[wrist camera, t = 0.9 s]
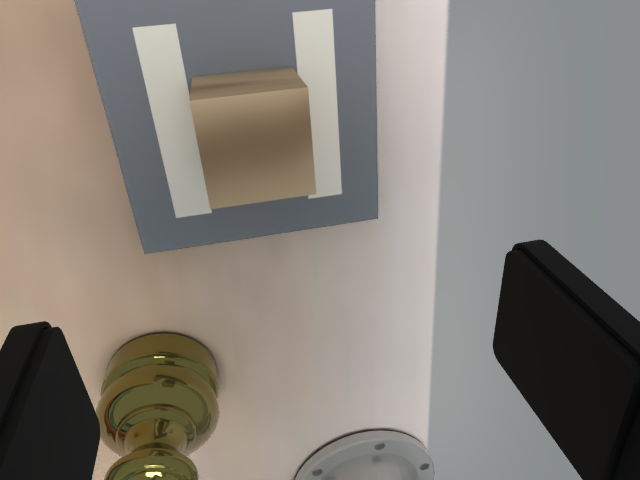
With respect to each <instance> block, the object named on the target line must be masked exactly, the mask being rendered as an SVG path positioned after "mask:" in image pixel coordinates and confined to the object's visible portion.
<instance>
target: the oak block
mask: <svg viewBox="0 0 640 480" xmlns="http://www.w3.org/2000/svg"><path fill="white" fill-rule="evenodd" d="M189 102H190V107H191V112H192V117H193V122H194V128H195V133H196V138H197V143H198V148H199V153H200V159H201V164H202V169H203V174H204V179H205V185H206V190H207V195H208V200H209V205H210V209H216V208H223V207H230V206H237V205H244V204H251V203H258V202H265V201H272V200H279V199H286V198H293V197H300V196H307V195H314V194H316V182H315V169H314V157H313V144H312V131H311V119H310V106H309V93H308V86H307V85H306V84H305V83H304V82H303V80H302V79H301V78H300V77H299V75H298V74H297V73H296V72H295V70H294V69H293V68H292V67H291V66H289V67H280V68H271V69H262V70H253V71H243V72H234V73H225V74H216V75H207V76H197V77H192V82H191V91H190V99H189Z"/></svg>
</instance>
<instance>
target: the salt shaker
mask: <svg viewBox="0 0 640 480" xmlns="http://www.w3.org/2000/svg"><path fill="white" fill-rule="evenodd" d="M217 397H218V383H217V369H216V364H215V361H214V359H213V357H212V355H211V354H210V353H209V351H208V350H207V349H206V348H205V347H203V346H202V345H201V344H199V343H198V342H196V341H194V340H192V339H190V338H188V337H185V336H181V335H176V334H165V333H162V334H152V335H147V336H143V337H140V338H137V339H135V340H133V341H131V342H129V343H127V344H126V345H124V346H123V347H122V348H121V349H120V350H118V351H117V352H116V354H115V355H114V356H113V357H112V359H111V361H110V363H109V365H108V369H107V373H106V377H105V380H104V382H103V385H102V388H101V399H100V401H99V403H98V406H97V409H96V415H97V417H98V420H99V424H100V438H101V440H102V441H103V443H104V444H105V445H106V446H107V447H108V448H109V449H110V450H112V451H113V452H115V453H116V454H118V455H120V456H122V458H120V459H119V460H118V461H116V462H115V463H114V464H113V465H112V466H111V467H110V469H109V470H108V472H107V474H106V476H105V478H104V480H199V476H198V471H197V468H196V466H195V465H194V463H193V462H192V461H191V460H190V459H189V458H188V457H186V456H187V455H189V454H191V453H192V452H194V451H196V450H197V449H198V448H200V447H201V446H202V445H203V444H204V443H205V442H206V441H207V440H208V439H209V438H210V437H211V435H212V434H213V432H214V430H215V428H216V426H217V422H218V418H219V406H218V402H217Z"/></svg>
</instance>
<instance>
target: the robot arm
mask: <svg viewBox="0 0 640 480" xmlns="http://www.w3.org/2000/svg"><path fill="white" fill-rule="evenodd" d="M493 350H494V354H495V356H496V358H497V360H498V362H499V363H500V364H501V366H502V367H503V369H504V370H505V371H506V373H507V374H508V376H509V377H510V379H511V380H512V381H513V383H514V384H515V385H516V387H517V388H518V390H519V391H520V392H521V394H522V395H523V397H524V398H525V400H526V401H527V402H528V404H529V405H530V407H531V408H532V409H533V411H534V412H535V413H536V415H537V416H538V418H539V419H540V420H541V422H542V423H543V425H544V426H545V427H546V429H547V430H548V432H549V433H550V434H551V436H552V437H553V439H554V440H555V441H556V443H557V444H558V446H559V447H560V449H561V450H562V451H563V453H564V454H565V455H566V457H567V458H568V460H569V461H570V463H571V464H572V465H573V467H574V468H575V469H576V471H577V472H578V474H579V475H580V477H581V478H582V479H583V480H640V322H639V321H638V320H637V319H636V318H634V317H633V316H632V315H631V314H630V313H629V312H627V311H626V310H625V309H624V308H623V307H622V306H620V305H619V304H618V303H617V302H616V301H615V300H614V299H612V298H611V297H610V296H609V295H608V294H607V293H605V292H604V291H603V290H602V289H601V288H599V287H598V286H597V285H596V284H595V283H594V282H593V281H591V280H590V279H589V278H588V277H587V276H585V275H584V274H583V273H582V272H581V271H580V270H579V269H577V268H576V267H575V266H574V265H573V264H572V263H570V262H569V261H568V260H567V259H566V258H564V257H563V256H562V255H561V254H560V253H559V252H558V251H556V250H555V249H554V248H553V247H552V246H551V245H549V244H548V243H547V242H546V241H544V240H535V241H529V242H523V243H517V244H515V245H514V247H513V248H512V251H509V252H508V253H507V254H506V258H505V265H504V271H503V278H502V285H501V291H500V298H499V305H498V312H497V319H496V325H495V332H494V340H493ZM99 441H100V424H99V420H98V417H97V415H96V412H95V410H94V407H93V405H92V403H91V400H90V398H89V395H88V393H87V390H86V388H85V386H84V383H83V381H82V378H81V376H80V373H79V371H78V369H77V366H76V364H75V361H74V359H73V356H72V354H71V352H70V349H69V347H68V344H67V342H66V339H65V337H64V335H63V332H62V330H61V329H60V328H59V327H53V328H52V327H51V325H50V324H49V323H48V322H45V321H44V322H38V323H32V324H26V325H20V326H15V327H13V328H12V329H11V330H10V332H9V334H8V336H7V338H6V340H5V342H4V344H3V346H2V348H1V350H0V480H92V475H93V470H94V465H95V461H96V456H97V451H98V446H99ZM434 474H435V472H434V465H433V462H432V460H431V458H430V455H429V453H428V451H427V450H426V448H425V447H424V445H423V444H421V443H420V442H419V441H418V440H417V439H415V438H413V437H411V436H409V435H407V434H403V433H399V432H395V431H382V430H380V431H367V432H362V433H357V434H353V435H350V436H347V437H344V438H342V439H339V440H337V441H335V442H333V443H331V444H329V445H327V446H326V447H324V448H323V449H321V450H320V451H318V452H317V453H315V454H314V455H313V456H312V457H311V458H310V459H309V460H308V461H307V462H306V463H305V464H304V465H303V467H302V468H301V469H300V470H299V472H298V474H297V476H296V478H295V480H434Z"/></svg>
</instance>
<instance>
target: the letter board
mask: <svg viewBox="0 0 640 480" xmlns="http://www.w3.org/2000/svg"><path fill="white" fill-rule="evenodd" d="M75 4H76V7H77V11H78V15H79V18H80V22H81V25H82V29H83V33H84V36H85V40H86V44H87V47H88V51H89V54H90V58H91V62H92V65H93V69H94V73H95V76H96V80H97V83H98V87H99V91H100V94H101V98H102V102H103V105H104V109H105V112H106V116H107V120H108V123H109V127H110V130H111V134H112V138H113V141H114V145H115V149H116V152H117V156H118V159H119V163H120V167H121V170H122V174H123V178H124V181H125V185H126V188H127V192H128V196H129V199H130V203H131V207H132V210H133V214H134V217H135V221H136V225H137V228H138V232H139V236H140V239H141V243H142V246H143V250H144V254H148V253H155V252H161V251H168V250H175V249H181V248H188V247H194V246H201V245H207V244H214V243H220V242H227V241H233V240H240V239H247V238H253V237H260V236H266V235H273V234H279V233H286V232H292V231H299V230H305V229H312V228H318V227H325V226H332V225H338V224H345V223H351V222H358V221H364V220H371V219H377V218H378V173H377V103H376V34H375V0H75ZM289 66H291V67H292V68H293V69H294V70H295V72H296V73H297V74H298V75H299V77H300V78H301V79H302V80H303V82H304V83H305V84H306V85H307V86H308V93H309V106H310V119H311V131H312V144H313V157H314V169H315V182H316V194H314V195H307V196H300V197H293V198H286V199H279V200H272V201H265V202H258V203H251V204H244V205H237V206H230V207H223V208H216V209H210V205H209V200H208V195H207V190H206V185H205V179H204V174H203V169H202V164H201V159H200V153H199V148H198V143H197V138H196V133H195V128H194V122H193V117H192V112H191V107H190V102H189V99H190V91H191V82H192V77H197V76H207V75H216V74H225V73H234V72H243V71H253V70H262V69H271V68H280V67H289Z"/></svg>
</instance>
